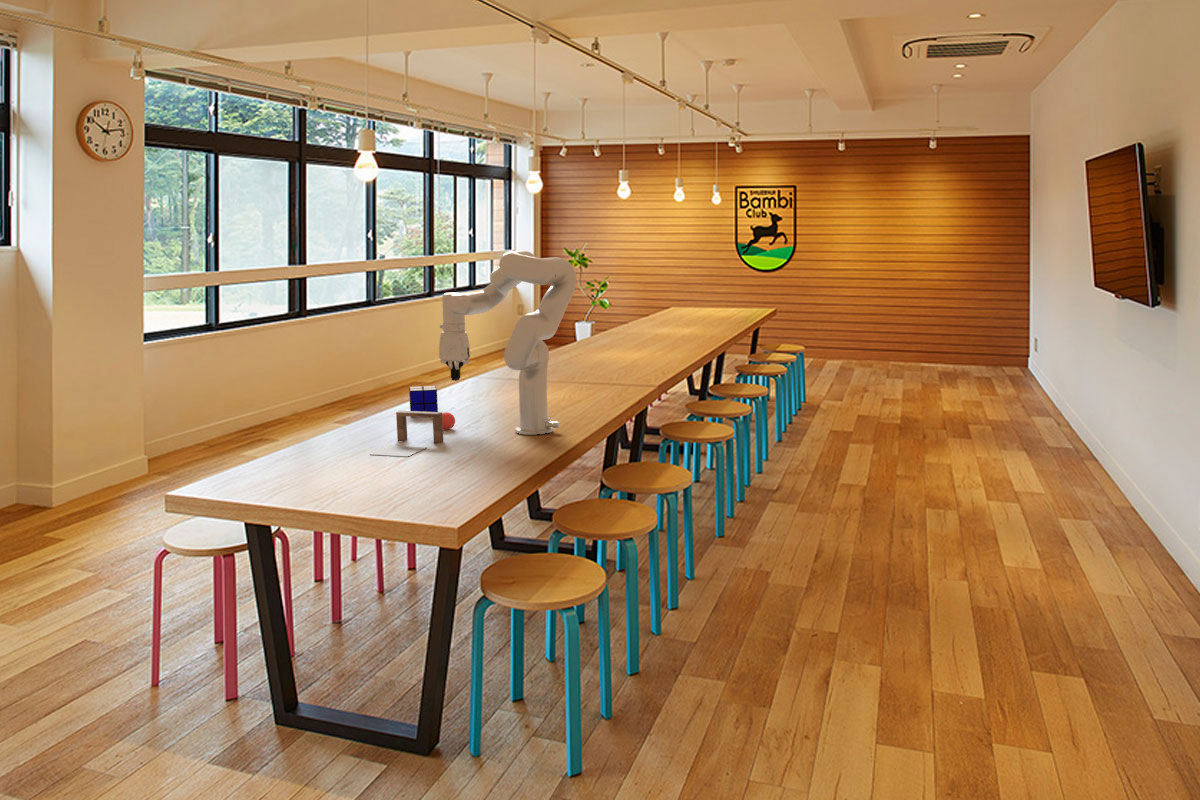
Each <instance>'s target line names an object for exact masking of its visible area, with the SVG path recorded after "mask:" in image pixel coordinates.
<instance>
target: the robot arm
mask: <svg viewBox="0 0 1200 800" xmlns="http://www.w3.org/2000/svg"><path fill="white" fill-rule="evenodd" d="M489 278H490V282H491V283H490V284H488V285H487V286H486V287H484V288H483V289H482V290H480V291H475V292H473V291H472V292H466V293H465V292H464V293H461V292H445V293H443V295H442V300H441V301H442V324H440V325H439V329H442V331H441V332H440V336H439V337H440V338H439V344H438V345H439V347H438V357H439V360H440V363H441V364H444V365H446V366H447V367H448V369H449V370H450V378H451V381H452V382H454V381H455V382H456V381H460V378H461V369H462V367H463V366H465V365H468V364H470V363H471V361H470V358H471V351H470V350H471V349H470V341H469V336H468V335H469V334H468V332H467V331H466V320H465V319H466V317H465V316H473V315H478V314H484V313H487V312H489V311H490V310H492V309H493V308H495V307H496V306H498V305H499V304H500V303H502V302H503V301H504V299H505V298H506V296H507V295H508V293H509V292H510V291H511V290H513V289H514V288H516V286H519V284H520V283H522V282H524V283H528V284H532V285H537V286H544V285H546V286H547V285H550V287H549V288H548V289H547V290H546V292H545V293H544V295H543V297H542V298H541V301H540V303H539V305H538V307H537V309H536V310H535V311H534V312H528V313H526V314H524V315H522V316H521V317H519V319H518V320H517V322H516V323H515V325H514V328H513V329H512V330H513V331H512V332H511V335H510V337H509V340H508V341H507V343H506V346H505V348H504V353H503V357H504V359H503V360H504V362H505V364H506V366H507V367H508V368H509V369H510V370H512V371H519V375H518V399H519V400H518V401H519V402H518V403H519V404H518V405H519V406H518V407H519V411H518V412H519V426H516V427H515V428H514V429H515V430H514V431H515V433H517V434H518V433H519V434H520V435H525V436H538V435H537V434H540V435H545V433H547V434H550V433H552V432H553V429H559V428H560V422H559V421H552V420H551V416H550V417H549V414H548V413H549V412H548V367H549V366H548V365H549V359H550V351H549V347H548V345H547V344H546V342H545V340H549V339H551V338H553V337H554V336H555V334H556V332H557V331H558V328H559V326H560V324H561V322H562V320H563V317H564V315H565V312H566V310H567V308H568V305H569V303H570V301H571V299H572V298H573V295H574V294H575V291H576V290H575V289H576V288H577V274H576V271H575V269H574V266H573V265H572V263H570V262H569V260H567V259H565V258H562V257H553V256H552V257H542V258H541V257H540V258H539V257H536V255H534V254H533V253H532V252H530V251H527V250H514V251H507V252H506V253H504V254H503V255H502V256H501V257H500V259H499V264H498V267H497V268H495V269H494V270H493V271H492V272H491V273H490V276H489Z"/></svg>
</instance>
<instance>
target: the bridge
mask: <svg viewBox="0 0 1200 800" xmlns="http://www.w3.org/2000/svg"><path fill="white" fill-rule="evenodd" d="M442 413H443V411H441V412H439V411H438V412H421V411H410V410H398V411H396V413H395V415H396V419H395V420H396V435H397V436H396V437H397V442H399V441H404V442H405V440H406V441H408V425H407V423H408V422H407V417H411V418H432V430H433V431H432V433H433V444H438V443H440V444H442V443H444V429H443V419H442ZM441 442H442V443H441Z"/></svg>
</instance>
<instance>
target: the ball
mask: <svg viewBox="0 0 1200 800" xmlns="http://www.w3.org/2000/svg"><path fill="white" fill-rule="evenodd" d="M442 419H443V431H444V430H448V431H449V430H451V429H452V428H453V427H455V424H456V417H455V415H453V414H452V413H451V412H446V411H445V412H442Z"/></svg>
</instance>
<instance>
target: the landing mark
mask: <svg viewBox="0 0 1200 800" xmlns="http://www.w3.org/2000/svg"><path fill="white" fill-rule="evenodd" d="M425 448H426V449H427V448H428V447H424V446H410V445H409V446H406V445H405V446H404V445H388V446H385V447H384V448H381V449H379V450H376V451H373V452H372V453H369V456H379V455H380V456H382V457H398V458H399V457H400V458H409V457H411V456H413V455H415V454H417V453H416V452H418V453H419V451H420V452H421V450H422V451H424V450H425ZM423 449H424V450H423ZM412 454H413V455H412ZM408 456H409V457H408Z"/></svg>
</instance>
